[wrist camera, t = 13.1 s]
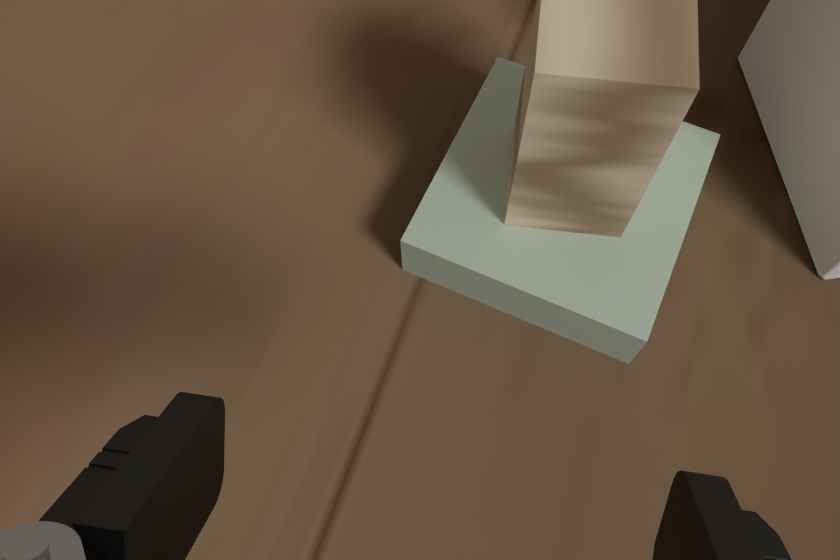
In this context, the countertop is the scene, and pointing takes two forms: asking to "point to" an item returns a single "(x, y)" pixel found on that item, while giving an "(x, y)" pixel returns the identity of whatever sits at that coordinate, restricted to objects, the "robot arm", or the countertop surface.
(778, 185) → the countertop surface
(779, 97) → the gable box
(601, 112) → the maple block
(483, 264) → the base slab
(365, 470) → the countertop surface
